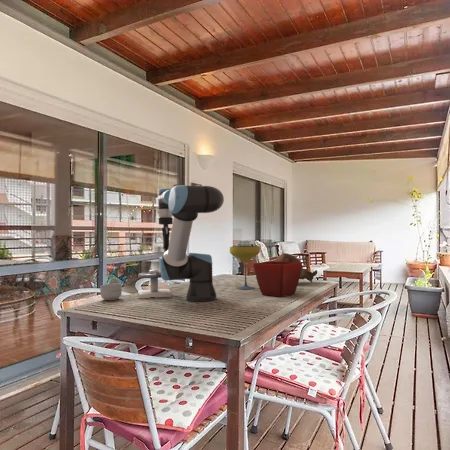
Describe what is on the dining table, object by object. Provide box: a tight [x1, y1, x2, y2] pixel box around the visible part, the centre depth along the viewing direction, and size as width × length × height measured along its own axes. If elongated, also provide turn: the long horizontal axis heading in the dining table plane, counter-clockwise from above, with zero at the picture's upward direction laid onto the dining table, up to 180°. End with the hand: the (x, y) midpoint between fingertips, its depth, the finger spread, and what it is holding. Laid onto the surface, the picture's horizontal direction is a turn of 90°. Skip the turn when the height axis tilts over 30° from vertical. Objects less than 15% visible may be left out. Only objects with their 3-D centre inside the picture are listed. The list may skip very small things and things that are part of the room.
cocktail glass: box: [229, 245, 261, 291], centre depth 228 cm, size 18×18×25 cm
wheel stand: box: [138, 278, 172, 299], centre depth 211 cm, size 17×17×10 cm
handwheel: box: [137, 269, 162, 279], centre depth 211 cm, size 17×17×8 cm
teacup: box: [99, 282, 123, 301], centre depth 200 cm, size 14×11×8 cm
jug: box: [273, 252, 318, 283], centre depth 245 cm, size 20×20×30 cm
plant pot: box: [253, 260, 303, 298], centre depth 201 cm, size 19×19×17 cm
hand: (166, 260), depth 207 cm, fingers closed
